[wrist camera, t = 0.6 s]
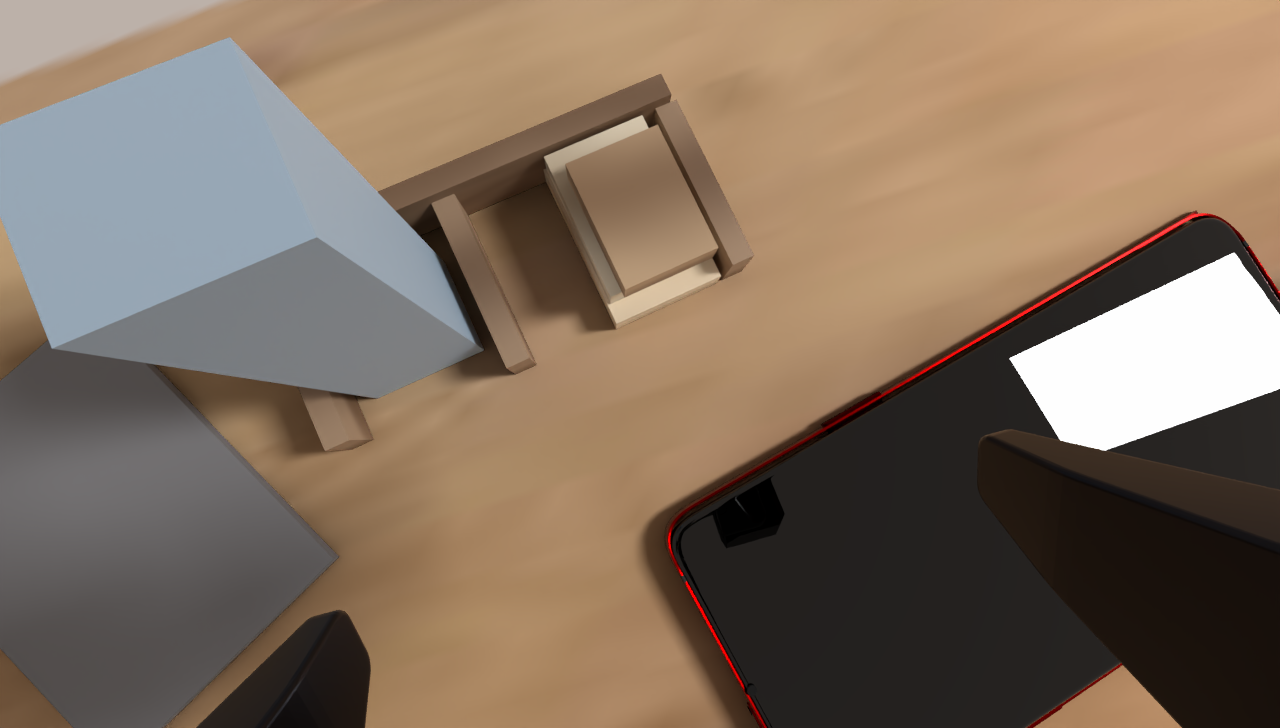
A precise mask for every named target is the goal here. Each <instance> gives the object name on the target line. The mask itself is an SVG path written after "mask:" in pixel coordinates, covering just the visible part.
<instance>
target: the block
mask: <svg viewBox="0 0 1280 728" xmlns="http://www.w3.org/2000/svg"><path fill="white" fill-rule="evenodd" d="M0 217H1V220H2V222H3V225H4V227H5V230H6V232H7V235H8V238H9V240H10V243H11V245H12V248H13V250H14V253H15V255H16V258H17V261H18V263H19V266H20V268H21V271H22V273H23V276H24V279H25V281H26V284H27V286H28V289H29V291H30V294H31V297H32V299H33V302H34V304H35V307H36V309H37V312H38V314H39V317H40V320H41V322H42V325H43V327H44V330H45V332H46V335H47V338H48V340H49V343H50V345H51V348H52V349H58V350H64V351H71V352H77V353H84V354H90V355H97V356H103V357H110V358H116V359H123V360H129V361H136V362H142V363H149V364H156V365H162V366H169V367H175V368H182V369H188V370H195V371H201V372H208V373H214V374H221V375H227V376H234V377H240V378H247V379H253V380H260V381H267V382H273V383H280V384H286V385H293V386H299V387H306V388H312V389H319V390H325V391H332V392H338V393H345V394H351V395H358V396H364V397H371V398H380V397H382V396H384V395H386V394H389V393H391V392H393V391H395V390H397V389H400V388H402V387H404V386H406V385H409V384H411V383H413V382H415V381H417V380H420V379H422V378H424V377H426V376H429V375H431V374H433V373H435V372H437V371H440V370H442V369H444V368H446V367H448V366H451V365H453V364H455V363H457V362H460V361H462V360H464V359H466V358H468V357H471V356H473V355H475V354H477V353H479V352H482V351H484V348H483V346H482V344H481V342H480V339H479V337H478V335H477V333H476V331H475V328H474V326H473V324H472V322H471V320H470V317H469V315H468V313H467V311H466V309H465V306H464V304H463V302H462V300H461V298H460V295H459V293H458V291H457V289H456V286H455V284H454V282H453V280H452V278H451V275H450V273H449V271H448V269H447V267H446V264H445V262H444V261H443V260H442V259H441V258H440V257H439V256H438V255H437V254H436V253H435V252H434V251H433V250H432V249H431V248H430V247H429V246H428V244H427V243H426V242H425V241H424V240H423V239H422V238H421V237H420V236H419V235H418V234H417V233H416V232H415V231H414V230H413V229H412V228H411V227H410V226H409V225H408V224H407V222H406V221H405V220H404V219H403V218H402V217H401V216H400V215H399V214H398V213H397V212H396V211H395V210H394V209H393V208H392V207H391V206H390V205H389V204H388V203H387V202H386V200H385V199H384V198H383V197H382V196H381V195H380V194H379V193H378V192H377V191H376V190H375V189H374V188H373V187H372V186H371V185H370V184H369V183H368V182H367V181H366V179H365V178H364V177H363V176H362V175H361V174H360V173H359V172H358V171H357V170H356V169H355V168H354V167H353V166H352V165H351V164H350V163H349V162H348V161H347V160H346V159H345V157H344V156H343V155H342V154H341V153H340V152H339V151H338V150H337V149H336V148H335V147H334V146H333V145H332V144H331V143H330V142H329V141H328V140H327V139H326V138H325V137H324V135H323V134H322V133H321V132H320V131H319V130H318V129H317V128H316V127H315V126H314V125H313V124H312V123H311V122H310V121H309V120H308V119H307V118H306V117H305V116H304V115H303V113H302V112H301V111H300V110H299V109H298V108H297V107H296V106H295V105H294V104H293V103H292V102H291V101H290V100H289V99H288V98H287V97H286V96H285V95H284V94H283V93H282V91H281V90H280V89H279V88H278V87H277V86H276V85H275V84H274V83H273V82H272V81H271V80H270V79H269V78H268V77H267V76H266V75H265V74H264V73H263V72H262V71H261V69H260V68H259V67H258V66H257V65H256V64H255V63H254V62H253V61H252V60H251V59H250V58H249V57H248V56H247V55H246V54H245V53H244V52H243V51H242V50H241V48H240V47H239V46H238V45H237V44H236V43H235V42H234V41H233V40H232V39H231V38H230V37H229V38H226V39H224V40H221V41H218V42H216V43H213V44H210V45H208V46H205V47H203V48H200V49H197V50H195V51H192V52H190V53H187V54H184V55H182V56H179V57H176V58H174V59H171V60H169V61H166V62H163V63H161V64H158V65H156V66H153V67H150V68H148V69H145V70H142V71H140V72H137V73H135V74H132V75H129V76H127V77H124V78H122V79H119V80H116V81H114V82H111V83H108V84H106V85H103V86H101V87H98V88H95V89H93V90H90V91H88V92H85V93H82V94H80V95H77V96H74V97H72V98H69V99H67V100H64V101H61V102H59V103H56V104H54V105H51V106H48V107H46V108H43V109H40V110H38V111H35V112H33V113H30V114H27V115H25V116H22V117H20V118H17V119H14V120H12V121H9V122H6V123H4V124H1V125H0Z"/></svg>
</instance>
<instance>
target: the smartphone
mask: <svg viewBox="0 0 1280 728" xmlns="http://www.w3.org/2000/svg"><path fill="white" fill-rule="evenodd" d="M1190 219H1197V220H1196V221H1193V222H1190V223H1187V224H1185V225H1182V226H1180V225H1181V224H1183V223H1185V222H1186V221H1188V220H1190ZM1178 226H1180V228H1178V229H1175V230H1173V229H1174V228H1176V227H1178ZM1171 230H1173V231H1171ZM1169 231H1171V232H1169ZM1168 232H1169V233H1168ZM1166 233H1168V234H1166ZM1164 234H1166V235H1164ZM1162 235H1164V236H1162ZM1161 236H1162V237H1161ZM1159 237H1161V238H1159ZM1157 238H1159V239H1157ZM1156 239H1157V240H1156ZM1154 240H1156V241H1154ZM1152 241H1154V242H1152ZM1150 242H1152V243H1150ZM1149 243H1150V244H1149ZM1147 244H1149V245H1147ZM1145 245H1147V246H1145ZM1144 246H1145V247H1144ZM1142 247H1143V248H1142ZM1140 248H1142V249H1140ZM1138 249H1140V250H1138ZM1136 250H1138V251H1137V252H1135V253H1133V254H1131V255H1130V256H1128V257H1126V258H1124V259H1123V260H1121V261H1119V262H1118V263H1116V264H1114V265H1112V266H1111V267H1109V268H1107V269H1105V270H1104V271H1102V272H1100V273H1099V274H1097V275H1095V276H1093V277H1092V278H1090V279H1088V280H1086V281H1085V282H1083V283H1081V284H1080V285H1078V286H1076V287H1074V288H1073V289H1071V290H1069V291H1067V292H1066V293H1064V294H1062V295H1061V296H1059V297H1057V298H1055V299H1054V300H1052V301H1050V302H1048V303H1047V304H1045V305H1043V306H1041V307H1040V308H1038V309H1036V310H1035V311H1033V312H1031V313H1029V314H1028V315H1026V316H1024V317H1022V318H1021V319H1019V320H1017V321H1016V322H1014V323H1012V324H1010V325H1009V326H1007V327H1005V328H1003V329H1002V330H1000V331H998V332H997V333H995V334H993V335H991V336H990V337H988V338H986V339H984V340H983V341H981V342H979V343H978V344H976V345H974V346H972V347H971V348H969V349H967V350H965V351H964V352H962V353H960V354H959V355H957V356H955V357H953V358H952V359H950V360H948V361H946V362H945V363H943V364H941V365H940V366H938V367H936V368H934V369H933V370H931V371H929V372H927V373H926V374H924V375H922V376H921V377H919V378H917V379H915V380H914V381H912V382H910V383H908V384H907V385H905V386H903V387H902V388H900V389H898V390H896V391H895V392H893V393H891V394H889V393H890V392H892V391H894V390H895V389H897V388H899V387H901V386H902V385H904V384H906V383H907V382H909V381H911V380H913V379H914V378H916V377H918V376H919V375H921V374H923V373H925V372H926V371H928V370H930V369H931V368H933V367H935V366H937V365H938V364H940V363H942V362H943V361H945V360H947V359H949V358H950V357H952V356H954V355H955V354H957V353H959V352H961V351H962V350H964V349H966V348H967V347H969V346H971V345H973V344H974V343H976V342H978V341H979V340H981V339H983V338H985V337H986V336H988V335H990V334H992V333H993V332H995V331H997V330H998V329H1000V328H1002V327H1004V326H1005V325H1007V324H1009V323H1010V322H1012V321H1014V320H1016V319H1017V318H1019V317H1021V316H1023V315H1024V314H1026V313H1028V312H1029V311H1031V310H1033V309H1035V308H1036V307H1038V306H1040V305H1041V304H1043V303H1045V302H1047V301H1048V300H1050V299H1052V298H1053V297H1055V296H1057V295H1059V294H1060V293H1062V292H1064V291H1066V290H1067V289H1069V288H1071V287H1072V286H1074V285H1076V284H1078V283H1079V282H1081V281H1083V280H1084V279H1086V278H1088V277H1090V276H1091V275H1093V274H1095V273H1097V272H1098V271H1100V270H1102V269H1103V268H1105V267H1107V266H1109V265H1110V264H1112V263H1114V262H1115V261H1117V260H1119V259H1121V258H1122V257H1124V256H1126V255H1128V254H1130V253H1132V252H1134V251H1136ZM887 394H889V395H888V396H886V397H884V398H883V399H882V397H883V396H885V395H887ZM821 426H822V427H820V428H819V429H817V430H815V431H813V432H812V433H810V434H808V435H807V436H805V437H803V438H801V439H800V440H798V441H796V442H794V443H793V444H791V445H789V446H788V447H786V448H784V449H782V450H781V451H779V452H777V453H775V454H774V455H772V456H770V457H769V458H767V459H765V460H763V461H762V462H760V463H758V464H757V465H755V466H753V467H751V468H750V469H748V470H746V471H744V472H743V473H741V474H739V475H738V476H736V477H734V478H732V479H731V480H729V481H727V482H725V483H724V484H722V485H720V486H719V487H717V488H715V489H713V490H712V491H710V492H708V493H707V494H705V495H703V496H701V497H700V498H698V499H696V500H694V501H693V502H691V503H689V504H688V505H686V506H685V507H683V508H682V509H680V510H679V511H678V512H677V513H676V514H675V515H674V516H673V517H672V518H671V519H670V521H669V523H668V525H667V527H666V531H665V543H666V548H667V551H668V553H669V556H670V558H671V560H672V562H673V564H674V566H675V568H676V570H677V571H678V573H679V575H680V577H681V579H682V581H683V583H684V584H685V586H686V588H687V590H688V592H689V594H690V595H691V597H692V599H693V601H694V603H695V605H696V606H697V608H698V610H699V612H700V614H701V616H702V617H703V619H704V621H705V623H706V625H707V627H708V628H709V630H710V632H711V634H712V636H713V638H714V639H715V641H716V643H717V645H718V647H719V649H720V650H721V652H722V654H723V656H724V658H725V660H726V661H727V663H728V665H729V667H730V669H731V671H732V672H733V674H734V676H735V678H736V680H737V682H738V683H739V685H740V687H741V689H742V691H743V693H744V694H745V696H746V698H747V700H748V702H747V704H748V706H747V707H748V709H749V711H750V713H751V715H752V714H753V715H754V717H755V719H756V721H757V723H758V724H759V726H760V728H1034V727H1035V726H1036V725H1038V724H1039V723H1041V722H1042V721H1044V720H1045V719H1047V718H1048V717H1050V716H1051V715H1053V714H1054V713H1056V712H1057V711H1059V710H1060V709H1061V708H1062V706H1063V705H1065V704H1066V703H1068V702H1069V701H1071V700H1072V699H1074V698H1075V697H1077V696H1078V695H1080V694H1081V693H1082V692H1084V691H1085V690H1087V689H1088V688H1090V687H1091V686H1093V685H1094V684H1096V683H1097V682H1099V681H1100V680H1101V679H1103V678H1104V677H1106V676H1107V675H1109V674H1110V673H1112V672H1113V671H1115V670H1116V669H1118V668H1119V667H1120V666H1122V663H1121V662H1120V661H1119V660H1118V659H1117V658H1116V657H1115V656H1114V655H1113V654H1112V653H1111V652H1110V651H1109V650H1108V649H1107V647H1106V646H1105V645H1104V644H1103V643H1102V642H1101V641H1100V640H1099V639H1098V638H1097V637H1096V636H1095V635H1094V634H1093V633H1092V632H1091V630H1090V629H1089V628H1088V627H1087V626H1086V625H1085V624H1084V623H1083V622H1082V621H1081V620H1080V619H1079V618H1078V617H1077V616H1076V614H1075V613H1074V612H1073V611H1072V610H1071V609H1070V608H1069V607H1068V606H1067V605H1066V604H1065V603H1064V602H1063V600H1062V599H1061V598H1060V597H1059V596H1058V595H1057V594H1056V593H1055V592H1054V590H1053V589H1052V588H1051V587H1050V586H1049V584H1048V583H1047V582H1046V581H1045V580H1044V578H1043V577H1042V576H1041V575H1040V574H1039V572H1038V571H1037V570H1036V568H1035V567H1034V566H1033V565H1032V563H1031V562H1030V561H1029V559H1028V558H1027V557H1026V556H1025V554H1024V553H1023V552H1022V550H1021V549H1020V548H1019V547H1018V545H1017V544H1016V543H1015V541H1014V540H1013V539H1012V537H1011V536H1010V535H1009V534H1008V532H1007V531H1006V530H1005V528H1004V527H1003V526H1002V525H1001V523H1000V522H999V521H998V519H997V518H996V517H995V516H994V514H993V513H992V512H991V510H990V509H989V508H988V507H987V505H986V504H985V503H984V501H983V500H982V498H981V496H980V494H979V491H978V487H977V465H978V443H979V441H980V439H981V438H982V437H983V436H985V435H988V434H992V433H996V432H999V431H1003V430H1009V429H1012V430H1017V431H1021V432H1026V433H1030V434H1035V435H1039V436H1043V437H1048V438H1052V439H1057V440H1061V441H1066V442H1070V443H1074V444H1079V445H1083V446H1088V447H1092V448H1096V449H1101V450H1105V451H1110V452H1114V453H1119V454H1123V455H1127V456H1132V457H1136V458H1141V459H1145V460H1149V461H1154V462H1158V463H1163V464H1167V465H1172V466H1176V467H1180V468H1185V469H1189V470H1194V471H1198V472H1202V473H1207V474H1211V475H1216V476H1220V477H1225V478H1229V479H1233V480H1238V481H1242V482H1247V483H1251V484H1255V485H1260V486H1264V487H1269V488H1273V489H1278V490H1280V292H1279V291H1278V289H1277V288H1276V286H1275V284H1274V283H1273V281H1272V280H1271V278H1270V277H1269V275H1268V274H1267V272H1266V271H1265V269H1264V268H1263V266H1262V265H1261V263H1260V262H1259V260H1258V259H1257V257H1256V255H1255V254H1254V252H1253V251H1252V250H1251V248H1250V247H1249V245H1248V244H1247V242H1246V241H1245V239H1244V238H1243V237H1242V235H1241V234H1240V233H1239V232H1238V231H1237V230H1236V229H1235V228H1234V227H1233V226H1231V225H1230V224H1229V223H1228V222H1226V221H1225V220H1224V219H1222V218H1220V217H1218V216H1216V215H1212V214H1206V213H1202V214H1198V212H1197V211H1193V212H1191V213H1189V214H1188V215H1187V216H1184V217H1182V218H1181V219H1179V220H1177V221H1175V222H1174V223H1172V224H1170V225H1168V226H1167V227H1165V228H1163V229H1161V230H1160V231H1158V232H1156V233H1155V234H1153V235H1151V236H1149V237H1148V238H1146V239H1144V240H1142V241H1141V242H1139V243H1137V244H1135V245H1134V246H1132V247H1130V248H1129V249H1127V250H1125V251H1124V252H1122V253H1120V254H1119V255H1117V256H1115V257H1114V258H1112V259H1110V260H1108V261H1107V262H1105V263H1103V264H1101V265H1100V266H1098V267H1096V268H1094V269H1093V270H1091V271H1089V272H1088V273H1086V274H1084V275H1082V276H1081V277H1079V278H1077V279H1075V280H1074V281H1072V282H1070V283H1069V284H1067V285H1065V286H1063V287H1062V288H1060V289H1058V290H1056V291H1055V292H1053V293H1051V294H1050V295H1048V296H1046V297H1044V298H1043V299H1041V300H1039V301H1037V302H1036V303H1034V304H1032V305H1031V306H1029V307H1027V308H1025V309H1024V310H1022V311H1020V312H1018V313H1017V314H1015V315H1013V316H1012V317H1010V318H1008V319H1006V320H1005V321H1003V322H1001V323H999V324H998V325H996V326H994V327H993V328H991V329H989V330H987V331H986V332H984V333H982V334H981V335H979V336H977V337H975V338H974V339H972V340H970V341H969V342H967V343H965V344H963V345H962V346H960V347H958V348H956V349H955V350H953V351H951V352H950V353H948V354H946V355H944V356H943V357H941V358H939V359H938V360H936V361H934V362H932V363H931V364H929V365H927V366H925V367H924V368H922V369H920V370H919V371H917V372H915V373H913V374H912V375H910V376H908V377H907V378H905V379H903V380H901V381H900V382H898V383H896V384H894V385H893V386H891V387H889V388H888V389H886V390H884V391H882V392H881V393H880V392H876V393H874V394H872V395H871V396H869V397H867V398H865V399H864V400H862V401H860V402H858V403H857V404H855V405H853V406H852V407H850V408H848V409H846V410H845V411H843V412H841V413H839V414H838V415H836V416H834V417H833V418H831V419H829V420H827V421H826V422H824V423H822V424H821ZM823 431H826V432H824V433H822V432H823ZM820 433H822V434H820ZM818 434H820V435H819V436H817V437H815V436H816V435H818ZM813 437H815V438H814V439H812V440H810V439H811V438H813ZM808 440H810V441H808ZM806 441H808V442H807V443H805V444H803V443H804V442H806ZM801 444H803V445H802V446H800V447H798V446H799V445H801ZM796 447H798V448H796ZM794 448H796V449H795V450H793V451H791V450H792V449H794ZM789 451H791V452H789ZM787 452H789V453H788V454H786V453H787ZM784 454H786V455H784ZM782 455H784V456H783V457H781V458H779V457H780V456H782ZM777 458H779V459H777ZM775 459H777V460H776V461H774V460H775ZM772 461H774V462H772ZM770 462H772V463H771V464H769V465H767V464H768V463H770ZM765 465H767V466H765ZM763 466H765V467H764V468H762V467H763ZM760 468H762V469H760ZM758 469H760V470H759V471H757V472H755V471H756V470H758ZM753 472H755V473H753ZM751 473H753V474H752V475H750V474H751ZM748 475H750V476H748ZM746 476H748V477H747V478H745V479H743V478H744V477H746ZM741 479H743V480H741ZM739 480H741V481H740V482H738V481H739ZM736 482H738V483H736ZM734 483H736V484H734ZM732 484H734V485H733V486H731V485H732ZM729 486H731V487H729ZM727 487H729V488H728V489H726V488H727ZM724 489H726V490H724ZM722 490H724V491H722ZM720 491H722V492H721V493H719V492H720ZM717 493H719V494H717ZM715 494H717V495H716V496H714V495H715ZM712 496H714V497H712ZM710 497H712V498H710ZM709 498H710V499H709ZM707 499H709V500H707ZM705 500H707V501H705ZM703 501H705V502H704V503H702V502H703ZM700 503H702V504H700ZM698 504H700V505H699V506H697V505H698ZM695 506H697V507H695ZM693 507H695V508H693ZM692 508H693V509H692ZM690 509H692V510H690ZM689 510H690V511H689ZM687 511H688V512H687ZM686 512H687V513H686ZM683 514H684V515H683ZM682 515H683V516H682ZM681 516H682V517H681Z"/></svg>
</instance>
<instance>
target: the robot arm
mask: <svg viewBox="0 0 1280 728" xmlns="http://www.w3.org/2000/svg"><path fill="white" fill-rule="evenodd" d="M977 487H978V491H979V494H980V496H981V498H982V500H983V501H984V503H985V504H986V505H987V507H988V508H989V509H990V510H991V512H992V513H993V514H994V516H995V517H996V518H997V519H998V521H999V522H1000V523H1001V525H1002V526H1003V527H1004V528H1005V530H1006V531H1007V532H1008V534H1009V535H1010V536H1011V537H1012V539H1013V540H1014V541H1015V543H1016V544H1017V545H1018V547H1019V548H1020V549H1021V550H1022V552H1023V553H1024V554H1025V556H1026V557H1027V558H1028V559H1029V561H1030V562H1031V563H1032V565H1033V566H1034V567H1035V568H1036V570H1037V571H1038V572H1039V574H1040V575H1041V576H1042V577H1043V578H1044V580H1045V581H1046V582H1047V583H1048V584H1049V586H1050V587H1051V588H1052V589H1053V590H1054V592H1055V593H1056V594H1057V595H1058V596H1059V597H1060V598H1061V599H1062V600H1063V602H1064V603H1065V604H1066V605H1067V606H1068V607H1069V608H1070V609H1071V610H1072V611H1073V612H1074V613H1075V614H1076V616H1077V617H1078V618H1079V619H1080V620H1081V621H1082V622H1083V623H1084V624H1085V625H1086V626H1087V627H1088V628H1089V629H1090V630H1091V632H1092V633H1093V634H1094V635H1095V636H1096V637H1097V638H1098V639H1099V640H1100V641H1101V642H1102V643H1103V644H1104V645H1105V646H1106V647H1107V649H1108V650H1109V651H1110V652H1111V653H1112V654H1113V655H1114V656H1115V657H1116V658H1117V659H1118V660H1119V661H1120V662H1121V663H1122V665H1123V666H1124V667H1125V668H1126V669H1127V670H1128V671H1129V672H1130V673H1131V674H1132V675H1133V676H1134V677H1135V678H1136V679H1137V680H1138V682H1139V683H1140V684H1141V685H1142V686H1143V687H1144V688H1145V689H1146V690H1147V691H1148V692H1149V693H1150V694H1151V695H1152V696H1153V697H1154V699H1155V700H1156V701H1157V702H1158V703H1159V704H1160V705H1161V706H1162V707H1163V708H1164V709H1165V710H1166V711H1167V712H1168V713H1169V715H1170V716H1171V717H1172V718H1173V719H1174V720H1175V721H1176V722H1177V723H1178V724H1179V725H1180V726H1181V727H1182V728H1280V490H1278V489H1273V488H1269V487H1264V486H1260V485H1255V484H1251V483H1247V482H1242V481H1238V480H1233V479H1229V478H1225V477H1220V476H1216V475H1211V474H1207V473H1202V472H1198V471H1194V470H1189V469H1185V468H1180V467H1176V466H1172V465H1167V464H1163V463H1158V462H1154V461H1149V460H1145V459H1141V458H1136V457H1132V456H1127V455H1123V454H1119V453H1114V452H1110V451H1105V450H1101V449H1096V448H1092V447H1088V446H1083V445H1079V444H1074V443H1070V442H1066V441H1061V440H1057V439H1052V438H1048V437H1043V436H1039V435H1035V434H1030V433H1026V432H1021V431H1017V430H1012V429H1009V430H1003V431H999V432H996V433H992V434H988V435H985V436H983V437H982V438H981V439H980V441H979V443H978V465H977ZM370 672H371V667H370V659H369V655H368V652H367V650H366V648H365V646H364V644H363V642H362V640H361V638H360V636H359V634H358V632H357V631H356V629H355V627H354V625H353V623H352V621H351V619H350V617H349V616H348V614H347V613H346V612H345V611H342V610H336V611H332V612H328V613H324V614H321V615H317V616H314V617H311V618H309V619H308V620H307V621H306V622H305V623H304V624H302V625H301V626H300V627H299V628H298V629H297V630H296V631H295V632H294V633H293V634H292V635H291V636H290V637H289V638H288V639H287V640H286V641H285V642H284V643H283V644H282V645H281V646H280V647H279V648H278V649H277V650H276V651H275V652H274V653H273V654H272V655H271V656H270V657H268V658H267V659H266V660H265V661H264V662H263V663H262V664H261V665H260V666H259V667H258V668H257V669H256V670H255V671H254V672H253V673H252V674H251V675H250V676H249V677H248V678H247V679H246V680H245V681H244V682H243V683H242V684H241V685H240V686H239V687H238V688H237V689H236V690H234V691H233V692H232V693H231V694H230V695H229V696H228V697H227V698H226V699H225V700H224V701H223V702H222V703H221V704H220V705H219V706H218V707H217V708H216V709H215V710H214V711H213V712H212V713H211V714H210V715H209V716H208V717H207V718H206V719H205V720H204V721H203V722H201V723H200V724H199V725H198V726H197V727H196V728H365V722H366V712H367V702H368V693H369V683H370Z"/></svg>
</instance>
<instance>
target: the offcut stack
mask: <svg viewBox="0 0 1280 728" xmlns="http://www.w3.org/2000/svg"><path fill="white" fill-rule="evenodd" d="M544 160H545V164H546V169H543V170H544V174H545V178H546V182H547V185H548V187H549V189H550V191H551V193H552V195H553V197H554V199H555V201H556V204H557V206H558V208H559V210H560V212H561V214H562V216H563V218H564V220H565V222H566V225H567V227H568V229H569V231H570V233H571V235H572V237H573V239H574V241H575V244H576V246H577V248H578V250H579V252H580V254H581V256H582V258H583V260H584V263H585V265H586V267H587V269H588V271H589V273H590V275H591V277H592V279H593V282H594V284H595V286H596V288H597V290H598V292H599V294H600V296H601V298H602V301H603V303H604V305H605V307H606V309H607V311H608V313H609V315H610V317H611V320H612V322H613V324H614V326H615V328H616V329H618V328H620V327H622V326H624V325H627V324H629V323H631V322H633V321H635V320H637V319H640V318H642V317H644V316H646V315H648V314H651V313H653V312H655V311H657V310H659V309H661V308H664V307H666V306H668V305H670V304H672V303H675V302H677V301H679V300H681V299H683V298H685V297H688V296H690V295H692V294H694V293H696V292H699V291H701V290H703V289H705V288H707V287H709V286H712V285H714V284H716V282H717V281H718V280H719V278H720V277H721V275H720V273H719V271H718V269H717V267H716V264H715V262H714V260H713V256H714V254H715V253H716V251H717V249H718V248H719V247H718V245H717V243H716V241H715V239H714V237H713V235H712V233H711V231H710V229H709V227H708V225H707V223H706V221H705V219H704V217H703V215H702V213H701V211H700V209H699V207H698V205H697V203H696V201H695V199H694V197H693V195H692V193H691V191H690V189H689V187H688V185H687V183H686V181H685V179H684V177H683V175H682V173H681V171H680V169H679V167H678V165H677V163H676V161H675V159H674V157H673V155H672V153H671V151H670V148H669V146H668V144H667V142H666V140H665V138H664V136H663V134H662V132H661V130H660V128H659V126H658V125H655V126H653V127H651V128H648V126H647V124H646V122H645V120H644V118H643V116H642V115H641V116H639V117H636V118H634V119H632V120H629V121H627V122H625V123H622V124H620V125H617V126H615V127H613V128H610V129H608V130H606V131H603V132H601V133H599V134H596V135H594V136H591V137H589V138H587V139H584V140H582V141H580V142H577V143H575V144H573V145H570V146H568V147H565V148H563V149H561V150H558V151H556V152H554V153H551V154H549V155H547V156H544Z"/></svg>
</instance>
